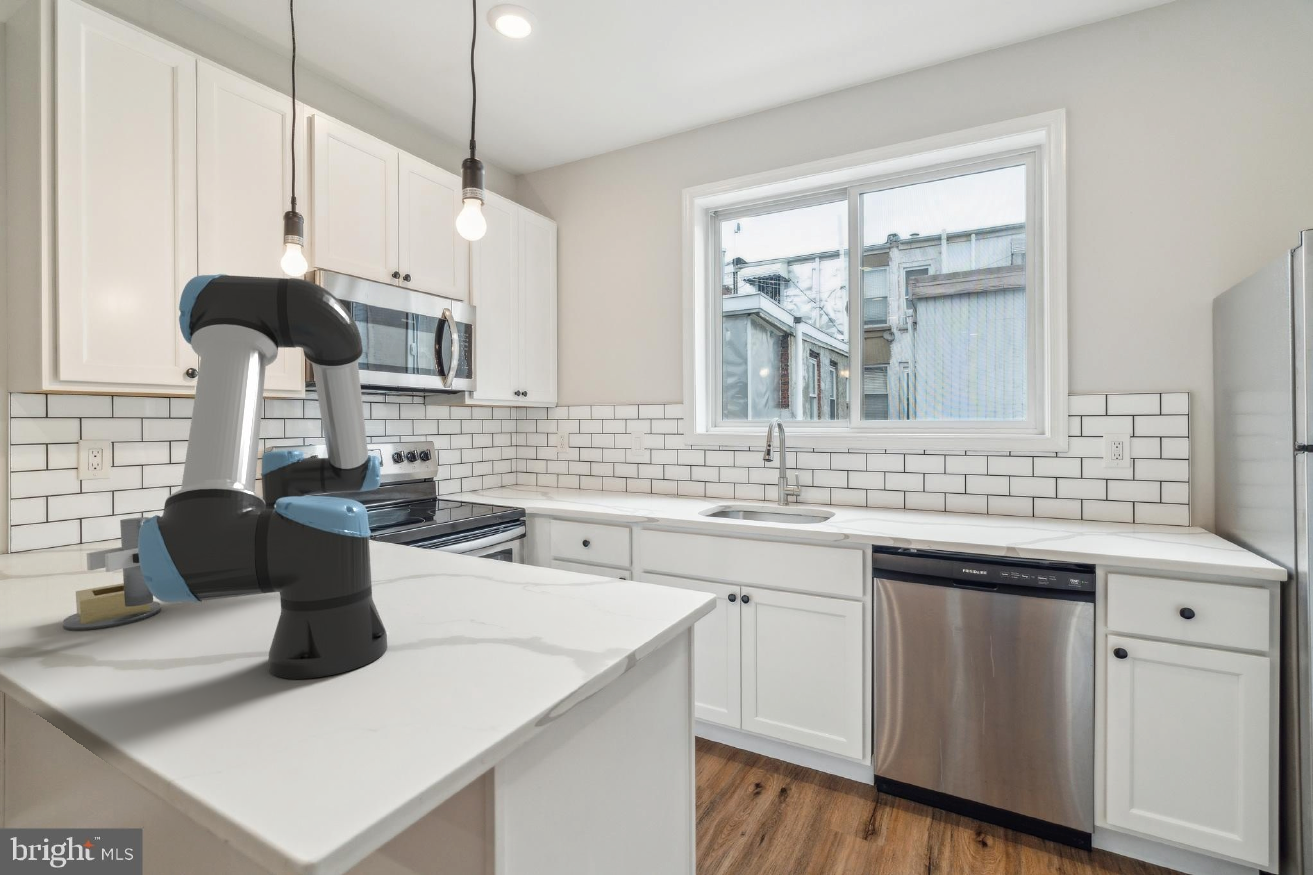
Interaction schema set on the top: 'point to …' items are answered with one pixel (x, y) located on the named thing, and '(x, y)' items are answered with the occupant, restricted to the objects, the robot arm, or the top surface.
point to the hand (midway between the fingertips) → (98, 562)
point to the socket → (106, 609)
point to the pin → (132, 576)
